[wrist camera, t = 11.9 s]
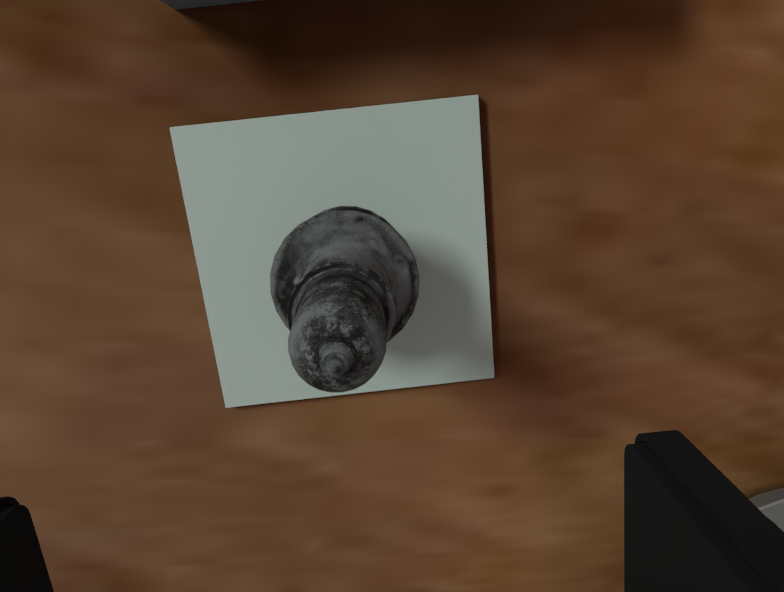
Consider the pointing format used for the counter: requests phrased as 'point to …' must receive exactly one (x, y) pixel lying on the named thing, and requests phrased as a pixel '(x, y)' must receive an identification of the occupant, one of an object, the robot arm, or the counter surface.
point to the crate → (200, 3)
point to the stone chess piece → (343, 295)
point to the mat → (328, 190)
